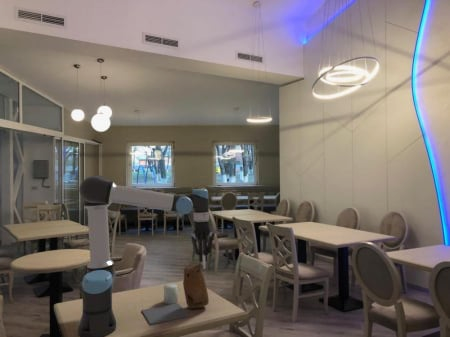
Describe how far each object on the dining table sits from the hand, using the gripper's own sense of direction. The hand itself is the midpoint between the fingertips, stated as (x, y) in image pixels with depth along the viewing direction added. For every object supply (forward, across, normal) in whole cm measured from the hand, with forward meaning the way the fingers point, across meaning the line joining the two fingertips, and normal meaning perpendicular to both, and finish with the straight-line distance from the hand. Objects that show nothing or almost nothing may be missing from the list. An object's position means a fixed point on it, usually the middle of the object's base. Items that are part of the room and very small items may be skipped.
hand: (203, 267), depth 167 cm
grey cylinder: (+18, -13, +13) cm, 26 cm away
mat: (+18, -20, 0) cm, 27 cm away
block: (+18, -3, 0) cm, 18 cm away
